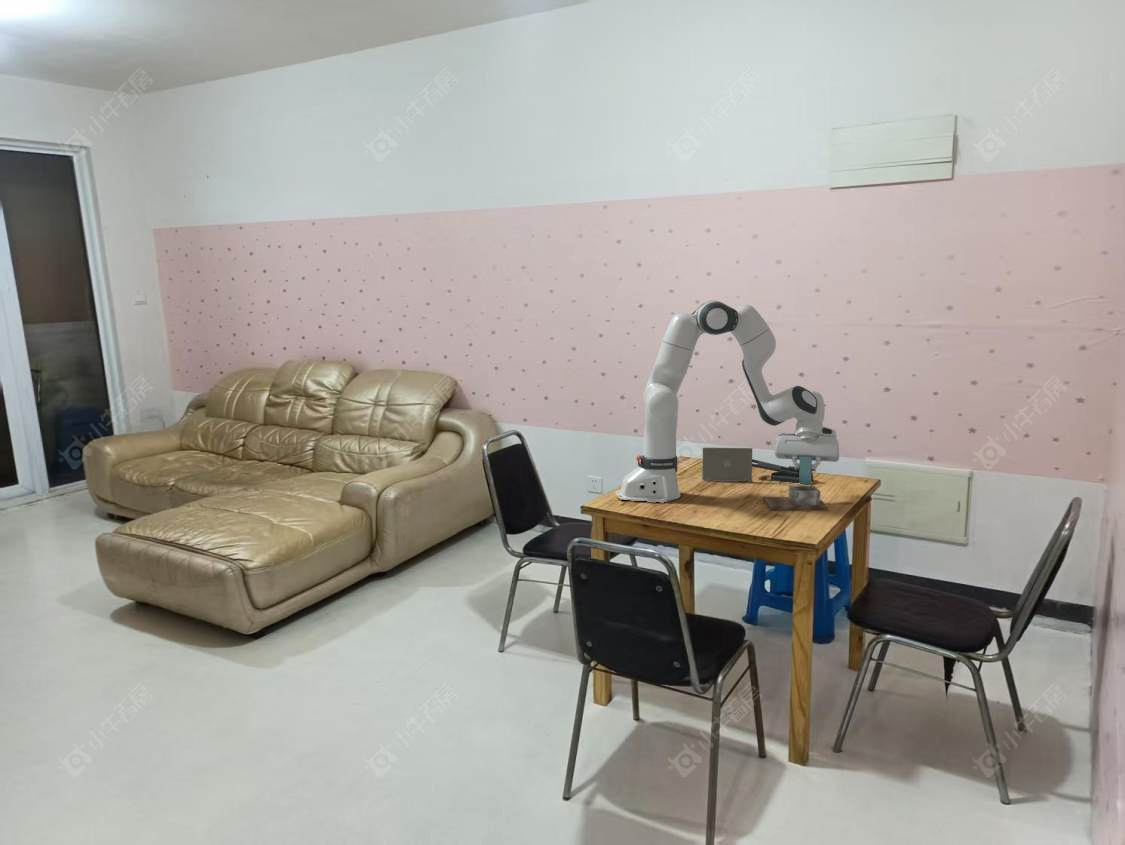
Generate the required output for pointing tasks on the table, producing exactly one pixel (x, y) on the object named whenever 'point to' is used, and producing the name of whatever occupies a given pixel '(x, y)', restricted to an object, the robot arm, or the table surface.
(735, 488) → the table surface
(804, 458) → the teal rounded oblong piece
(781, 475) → the black stapler
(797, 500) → the walnut socket board
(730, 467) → the laptop
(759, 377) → the robot arm
